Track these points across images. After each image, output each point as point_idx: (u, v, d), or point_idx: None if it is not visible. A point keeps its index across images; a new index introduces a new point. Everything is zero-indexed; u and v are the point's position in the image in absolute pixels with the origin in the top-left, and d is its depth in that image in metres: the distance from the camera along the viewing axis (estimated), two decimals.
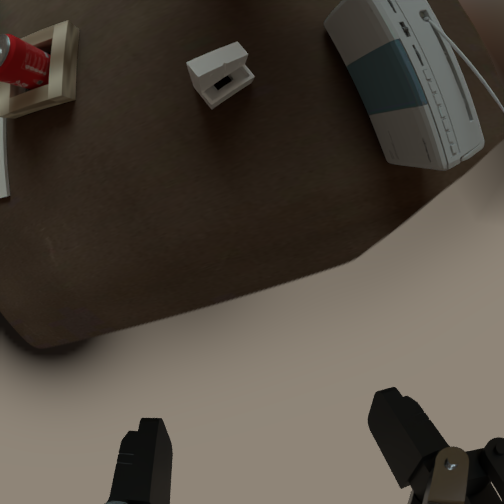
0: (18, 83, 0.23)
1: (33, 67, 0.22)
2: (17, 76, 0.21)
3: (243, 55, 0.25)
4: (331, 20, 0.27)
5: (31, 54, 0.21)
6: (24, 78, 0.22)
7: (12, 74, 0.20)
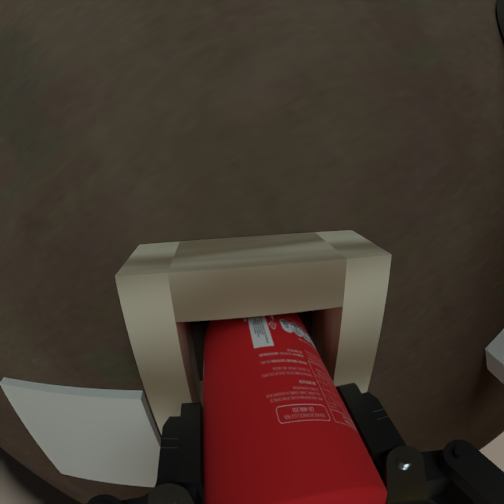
0: None
1: None
2: None
3: None
4: None
5: None
6: None
7: None
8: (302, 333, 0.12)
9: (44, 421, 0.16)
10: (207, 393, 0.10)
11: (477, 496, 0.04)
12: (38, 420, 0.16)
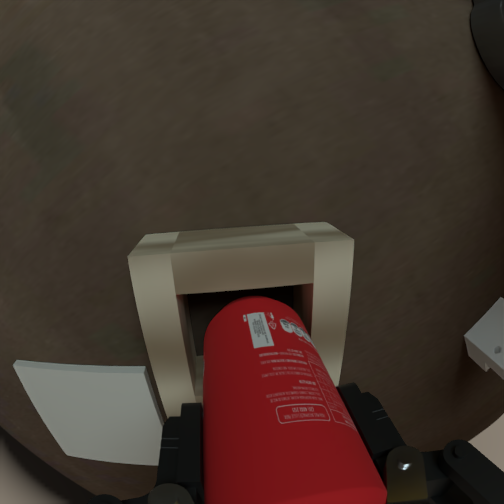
0: None
1: None
2: None
3: None
4: None
5: None
6: None
7: None
8: (302, 333, 0.12)
9: (54, 400, 0.19)
10: (207, 393, 0.10)
11: (477, 496, 0.04)
12: (47, 400, 0.19)
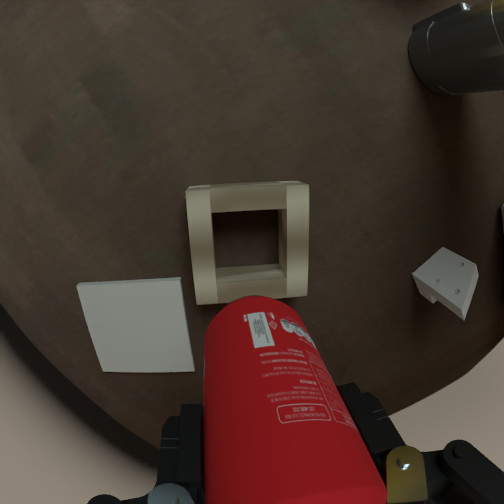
0: None
1: None
2: None
3: (477, 279, 0.28)
4: None
5: None
6: None
7: None
8: (303, 333, 0.12)
9: (105, 312, 0.31)
10: (208, 393, 0.10)
11: (477, 496, 0.04)
12: (100, 313, 0.31)
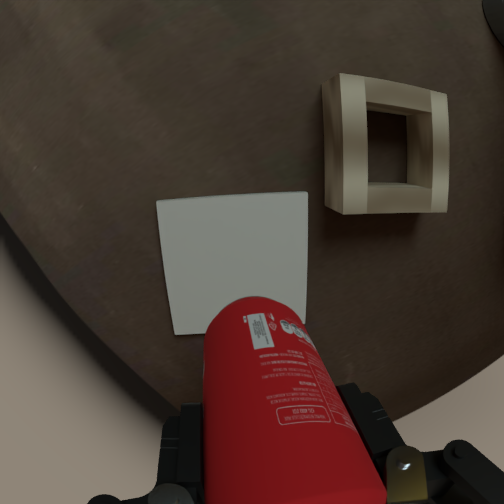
0: None
1: None
2: None
3: None
4: None
5: None
6: None
7: None
8: (302, 334, 0.12)
9: (196, 241, 0.24)
10: (207, 394, 0.10)
11: (477, 496, 0.04)
12: (187, 243, 0.24)
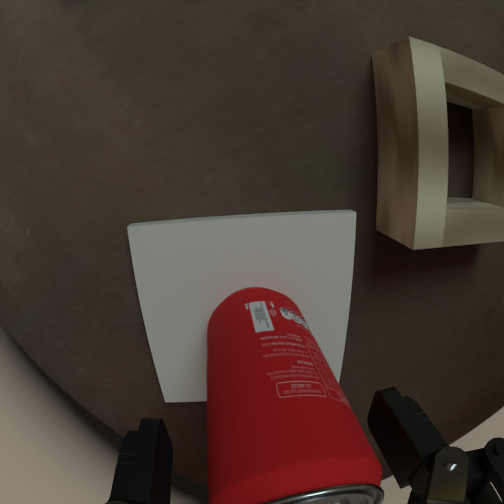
0: None
1: None
2: None
3: None
4: None
5: None
6: None
7: None
8: (300, 321, 0.13)
9: (189, 285, 0.16)
10: (211, 375, 0.11)
11: None
12: (175, 288, 0.16)
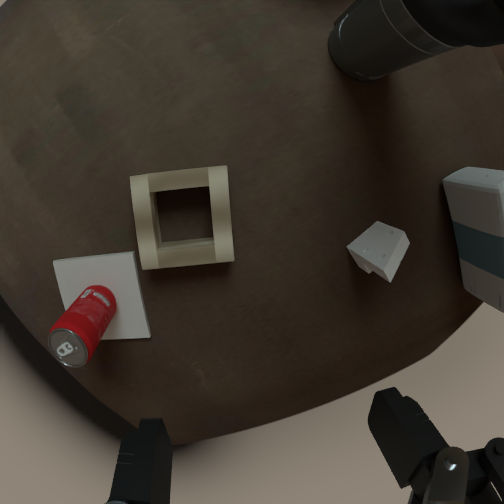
0: None
1: (104, 331, 0.31)
2: None
3: (407, 245, 0.34)
4: (454, 188, 0.36)
5: (101, 326, 0.30)
6: None
7: None
8: (101, 297, 0.33)
9: (75, 284, 0.36)
10: None
11: None
12: (71, 285, 0.36)
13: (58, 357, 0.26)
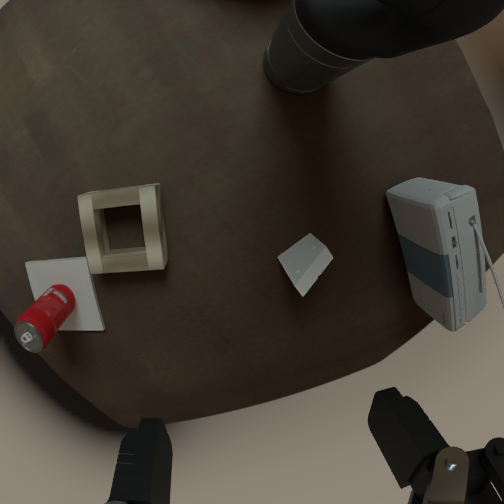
0: None
1: (60, 324, 0.35)
2: None
3: (330, 260, 0.37)
4: (395, 201, 0.39)
5: (56, 320, 0.34)
6: None
7: None
8: (60, 295, 0.37)
9: (43, 282, 0.39)
10: None
11: None
12: (40, 283, 0.39)
13: (22, 343, 0.29)
